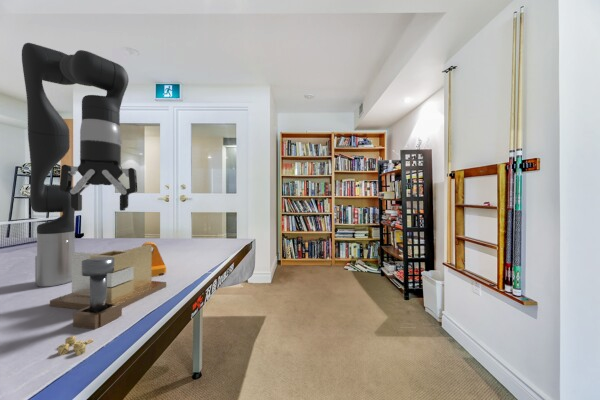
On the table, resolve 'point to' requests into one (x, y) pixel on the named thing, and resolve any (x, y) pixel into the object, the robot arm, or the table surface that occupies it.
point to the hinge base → (115, 289)
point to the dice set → (78, 346)
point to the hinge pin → (98, 280)
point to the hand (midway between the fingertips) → (101, 210)
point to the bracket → (156, 261)
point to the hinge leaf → (83, 282)
